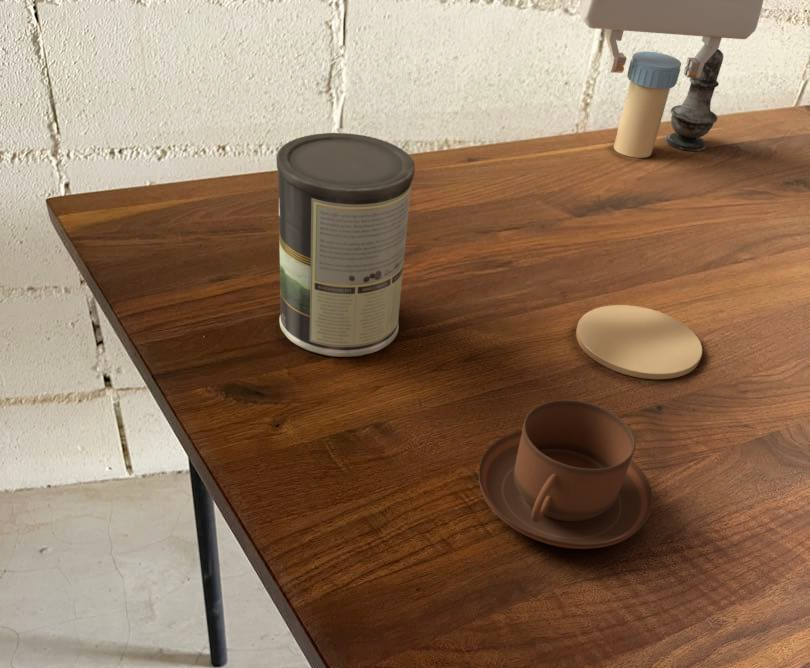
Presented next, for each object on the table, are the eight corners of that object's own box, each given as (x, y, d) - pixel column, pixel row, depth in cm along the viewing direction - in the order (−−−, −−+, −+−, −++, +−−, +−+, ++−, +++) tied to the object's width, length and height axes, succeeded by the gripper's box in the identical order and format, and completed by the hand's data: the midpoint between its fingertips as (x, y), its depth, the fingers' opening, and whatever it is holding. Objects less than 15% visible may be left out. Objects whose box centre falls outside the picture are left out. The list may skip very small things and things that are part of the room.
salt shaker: (655, 142, 113) (684, 38, 104) (672, 130, 116) (702, 29, 108) (698, 156, 111) (731, 51, 102) (714, 143, 114) (748, 41, 106)
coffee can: (255, 333, 74) (249, 163, 64) (317, 282, 81) (320, 121, 71) (364, 372, 71) (375, 201, 61) (419, 316, 78) (437, 154, 68)
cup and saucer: (646, 580, 57) (675, 510, 53) (464, 545, 58) (478, 474, 54) (643, 464, 66) (668, 396, 62) (484, 435, 67) (498, 366, 62)
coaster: (720, 344, 79) (723, 338, 79) (665, 396, 73) (667, 389, 72) (613, 297, 83) (615, 291, 83) (552, 342, 77) (553, 335, 76)
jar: (658, 151, 111) (683, 64, 104) (640, 161, 108) (664, 73, 101) (624, 139, 113) (647, 53, 106) (606, 148, 110) (627, 61, 103)
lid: (617, 78, 104) (623, 57, 102) (641, 69, 107) (647, 48, 106) (661, 92, 102) (667, 71, 100) (684, 82, 105) (690, 61, 103)
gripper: (770, -64, 98) (727, 70, 108) (592, -80, 95) (564, 59, 105) (792, -51, 94) (746, 88, 103) (606, -67, 91) (576, 77, 101)
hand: (653, 73), depth 104 cm, fingers open, 8 cm apart
